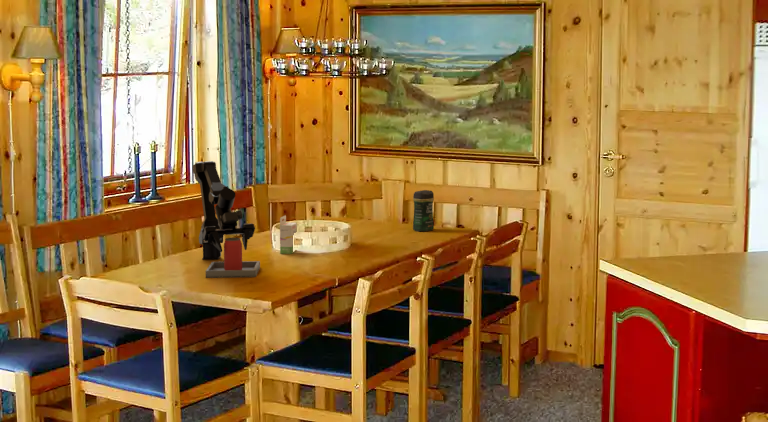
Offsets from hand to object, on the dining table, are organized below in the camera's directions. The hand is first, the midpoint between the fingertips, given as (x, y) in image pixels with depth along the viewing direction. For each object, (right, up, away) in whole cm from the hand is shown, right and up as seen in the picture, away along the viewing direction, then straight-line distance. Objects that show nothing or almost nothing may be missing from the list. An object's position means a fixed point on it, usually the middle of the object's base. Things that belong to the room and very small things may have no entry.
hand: (233, 250), depth 382 cm
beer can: (-1, -8, +2) cm, 8 cm away
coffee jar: (+73, +5, +98) cm, 123 cm away
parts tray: (0, -8, +2) cm, 9 cm away
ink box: (+16, -3, +45) cm, 47 cm away
